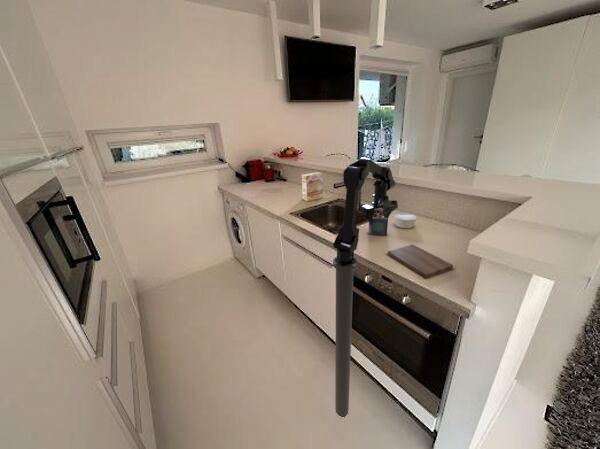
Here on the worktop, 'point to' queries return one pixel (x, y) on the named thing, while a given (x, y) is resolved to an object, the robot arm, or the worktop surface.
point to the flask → (378, 226)
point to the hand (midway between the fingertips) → (378, 223)
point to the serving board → (420, 260)
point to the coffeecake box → (312, 186)
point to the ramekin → (405, 220)
